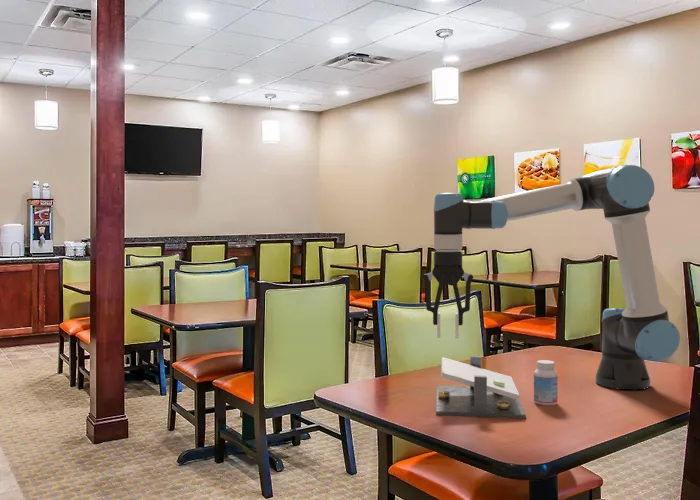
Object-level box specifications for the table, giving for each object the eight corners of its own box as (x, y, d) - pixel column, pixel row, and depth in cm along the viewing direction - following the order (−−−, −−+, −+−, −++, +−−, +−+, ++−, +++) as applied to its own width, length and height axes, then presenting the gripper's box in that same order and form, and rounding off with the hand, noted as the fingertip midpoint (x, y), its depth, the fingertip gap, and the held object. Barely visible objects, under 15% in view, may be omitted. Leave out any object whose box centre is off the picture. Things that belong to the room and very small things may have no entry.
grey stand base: (514, 391, 184) (514, 357, 184) (525, 418, 158) (526, 378, 158) (437, 389, 187) (437, 355, 187) (436, 415, 162) (436, 375, 161)
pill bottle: (558, 406, 169) (559, 364, 168) (534, 405, 170) (535, 363, 169) (556, 400, 175) (556, 359, 174) (532, 399, 176) (533, 359, 175)
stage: (509, 380, 182) (511, 373, 182) (518, 400, 160) (520, 393, 160) (441, 360, 185) (442, 353, 185) (440, 378, 163) (442, 370, 163)
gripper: (479, 250, 175) (479, 335, 176) (416, 250, 177) (416, 334, 178) (481, 251, 168) (481, 340, 168) (415, 251, 170) (415, 338, 171)
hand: (447, 336), depth 173 cm, fingers open, 4 cm apart
